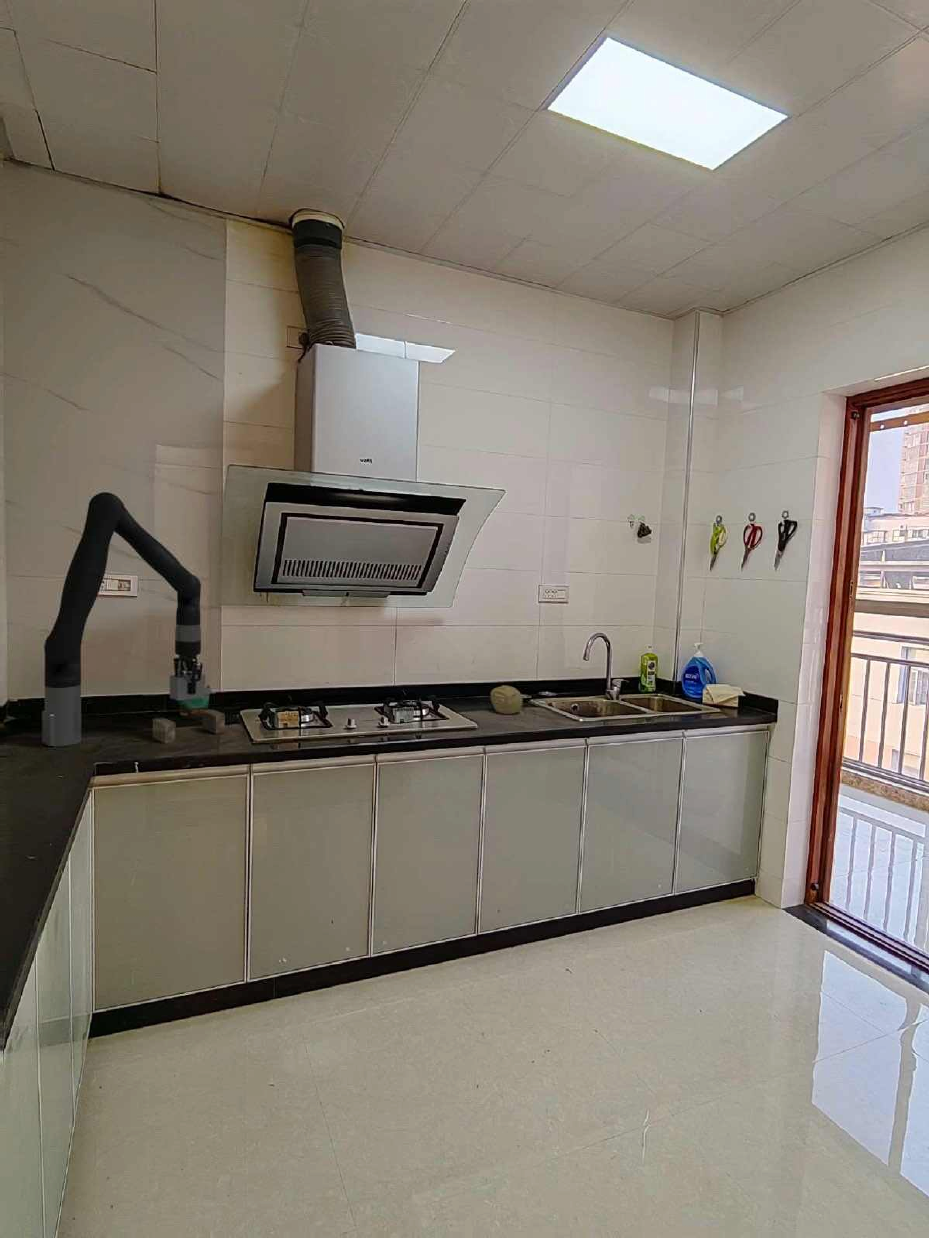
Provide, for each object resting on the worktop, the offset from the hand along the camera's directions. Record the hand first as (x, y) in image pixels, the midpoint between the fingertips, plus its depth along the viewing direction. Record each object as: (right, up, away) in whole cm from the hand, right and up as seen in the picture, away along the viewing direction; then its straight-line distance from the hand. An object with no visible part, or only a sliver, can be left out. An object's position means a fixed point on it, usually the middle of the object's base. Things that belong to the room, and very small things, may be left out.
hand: (187, 692), depth 218 cm
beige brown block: (-5, -14, -4) cm, 16 cm away
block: (0, -2, 0) cm, 1 cm away
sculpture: (+103, -14, +57) cm, 119 cm away
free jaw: (+5, -13, +8) cm, 16 cm away
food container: (-7, -11, +27) cm, 30 cm away
